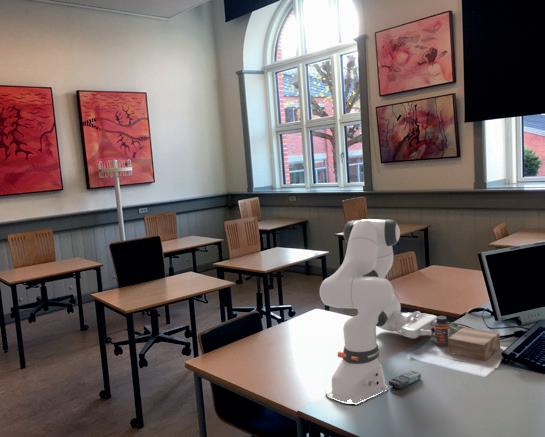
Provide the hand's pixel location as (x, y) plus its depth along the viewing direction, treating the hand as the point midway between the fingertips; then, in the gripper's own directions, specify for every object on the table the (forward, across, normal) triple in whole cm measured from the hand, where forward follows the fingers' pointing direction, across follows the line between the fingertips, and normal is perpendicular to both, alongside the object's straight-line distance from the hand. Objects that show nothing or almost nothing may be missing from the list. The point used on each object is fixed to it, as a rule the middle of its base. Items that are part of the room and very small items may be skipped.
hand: (437, 329), depth 200 cm
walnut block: (+15, 0, +6) cm, 16 cm away
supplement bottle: (+2, 0, +6) cm, 6 cm away
